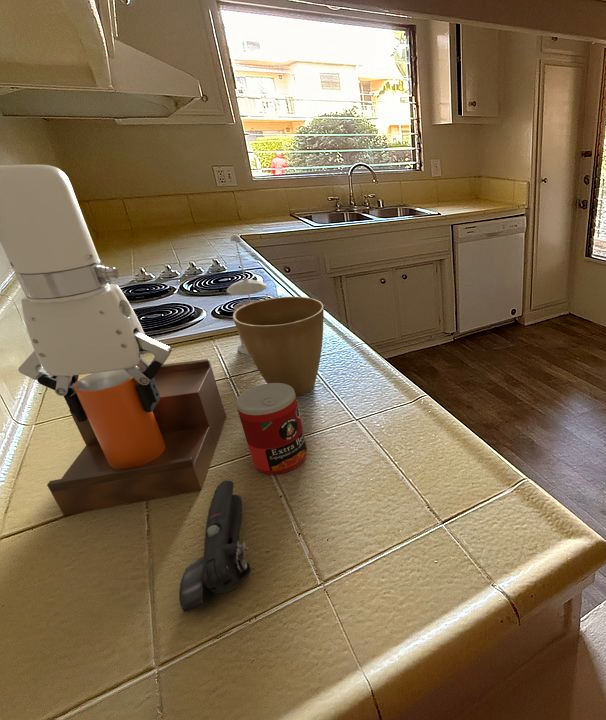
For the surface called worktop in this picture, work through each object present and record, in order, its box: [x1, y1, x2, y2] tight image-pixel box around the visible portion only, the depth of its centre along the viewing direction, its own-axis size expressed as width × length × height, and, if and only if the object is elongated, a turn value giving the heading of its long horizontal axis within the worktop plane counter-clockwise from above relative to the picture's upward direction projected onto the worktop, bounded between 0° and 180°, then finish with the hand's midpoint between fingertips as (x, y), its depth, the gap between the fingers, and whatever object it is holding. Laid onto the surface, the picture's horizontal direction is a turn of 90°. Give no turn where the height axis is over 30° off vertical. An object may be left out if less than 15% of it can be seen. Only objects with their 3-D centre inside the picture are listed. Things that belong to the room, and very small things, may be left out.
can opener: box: [178, 480, 252, 613], centre depth 53 cm, size 18×7×6 cm, turn 20°
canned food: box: [235, 383, 308, 475], centre depth 67 cm, size 8×8×11 cm
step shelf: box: [46, 358, 227, 516], centre depth 67 cm, size 16×19×11 cm
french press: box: [225, 234, 276, 355], centre depth 101 cm, size 10×12×25 cm
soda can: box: [74, 369, 166, 469], centre depth 62 cm, size 7×7×12 cm
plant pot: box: [232, 296, 324, 397], centre depth 85 cm, size 15×15×16 cm
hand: (120, 410), depth 61 cm, fingers open, 6 cm apart
